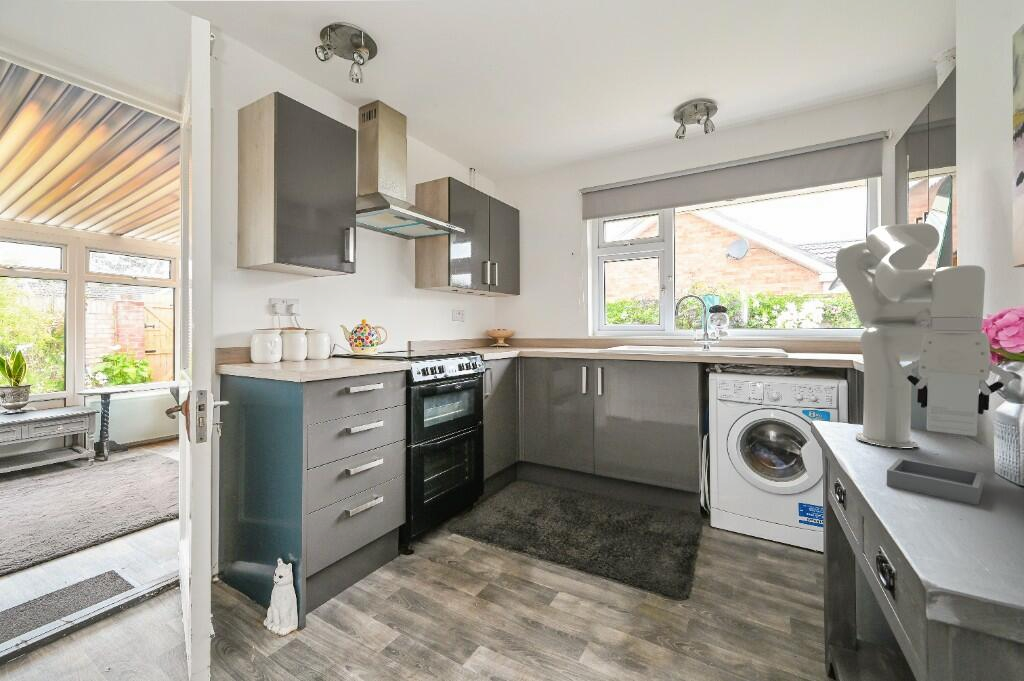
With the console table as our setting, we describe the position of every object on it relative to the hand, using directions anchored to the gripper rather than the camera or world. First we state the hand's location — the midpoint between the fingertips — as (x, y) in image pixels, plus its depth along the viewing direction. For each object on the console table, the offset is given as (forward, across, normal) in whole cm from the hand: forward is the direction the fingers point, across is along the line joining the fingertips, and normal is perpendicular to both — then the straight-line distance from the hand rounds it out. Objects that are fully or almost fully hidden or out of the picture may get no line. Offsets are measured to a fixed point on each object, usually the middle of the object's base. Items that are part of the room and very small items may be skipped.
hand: (951, 409), depth 89 cm
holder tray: (+13, -1, -13) cm, 18 cm away
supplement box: (+5, 0, 0) cm, 5 cm away
